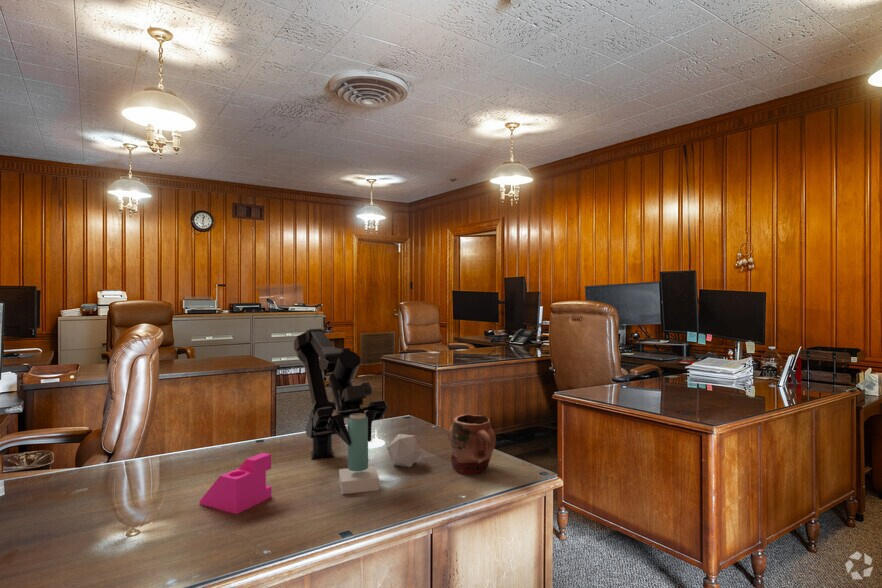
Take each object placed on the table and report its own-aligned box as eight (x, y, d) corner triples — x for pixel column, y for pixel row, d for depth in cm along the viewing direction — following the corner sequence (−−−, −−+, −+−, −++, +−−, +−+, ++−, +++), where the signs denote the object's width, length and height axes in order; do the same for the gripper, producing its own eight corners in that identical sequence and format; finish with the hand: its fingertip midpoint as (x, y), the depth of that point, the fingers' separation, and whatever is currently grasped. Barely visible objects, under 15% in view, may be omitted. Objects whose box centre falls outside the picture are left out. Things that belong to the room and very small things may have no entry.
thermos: (344, 467, 126) (343, 414, 126) (361, 462, 130) (360, 411, 130) (355, 472, 123) (354, 418, 123) (372, 467, 126) (371, 414, 126)
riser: (339, 480, 129) (339, 469, 129) (374, 477, 132) (374, 465, 132) (341, 494, 121) (341, 481, 121) (379, 490, 123) (378, 477, 123)
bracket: (271, 497, 120) (271, 454, 120) (236, 514, 111) (236, 467, 111) (235, 489, 125) (235, 447, 125) (199, 504, 116) (198, 460, 116)
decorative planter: (514, 477, 130) (513, 423, 130) (474, 486, 124) (473, 430, 124) (472, 456, 148) (472, 408, 148) (436, 463, 142) (435, 414, 142)
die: (426, 464, 143) (414, 431, 148) (422, 457, 135) (410, 423, 140) (398, 476, 142) (387, 443, 147) (393, 470, 135) (381, 435, 139)
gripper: (315, 376, 124) (331, 431, 115) (384, 369, 134) (403, 419, 125) (306, 402, 131) (320, 456, 122) (372, 393, 141) (390, 443, 132)
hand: (360, 442), depth 125 cm, fingers closed on thermos, 5 cm apart
